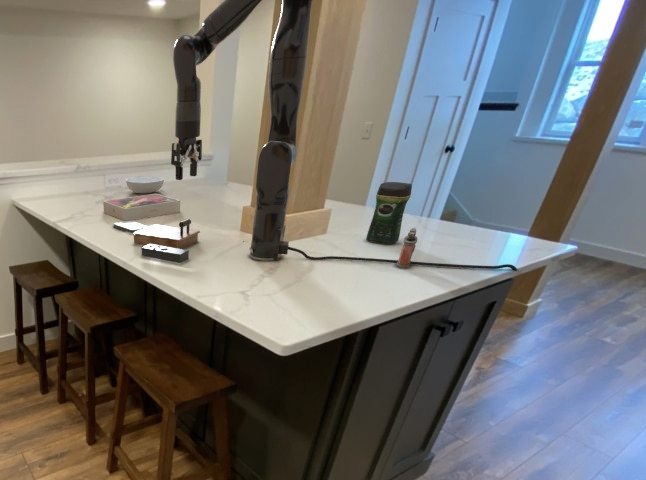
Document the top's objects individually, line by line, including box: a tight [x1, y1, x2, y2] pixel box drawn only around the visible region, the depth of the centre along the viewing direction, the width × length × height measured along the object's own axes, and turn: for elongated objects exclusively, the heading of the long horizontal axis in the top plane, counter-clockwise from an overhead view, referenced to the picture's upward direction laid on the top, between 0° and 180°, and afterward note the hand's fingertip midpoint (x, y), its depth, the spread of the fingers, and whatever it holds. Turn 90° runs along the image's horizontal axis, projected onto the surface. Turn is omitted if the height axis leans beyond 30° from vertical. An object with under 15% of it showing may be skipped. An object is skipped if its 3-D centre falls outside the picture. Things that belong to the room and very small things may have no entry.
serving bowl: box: [125, 175, 165, 195], centre depth 244 cm, size 21×21×7 cm
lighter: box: [396, 227, 419, 270], centre depth 128 cm, size 8×3×10 cm, turn 148°
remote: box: [141, 244, 190, 264], centre depth 143 cm, size 15×5×4 cm, turn 52°
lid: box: [133, 218, 201, 242], centre depth 155 cm, size 19×14×5 cm
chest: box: [133, 233, 199, 249], centre depth 158 cm, size 18×14×4 cm
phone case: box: [113, 220, 150, 234], centre depth 178 cm, size 9×2×16 cm
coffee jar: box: [365, 181, 413, 245], centre depth 146 cm, size 10×8×19 cm
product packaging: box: [102, 193, 181, 222], centre depth 203 cm, size 22×28×5 cm
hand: (186, 177), depth 142 cm, fingers open, 8 cm apart
